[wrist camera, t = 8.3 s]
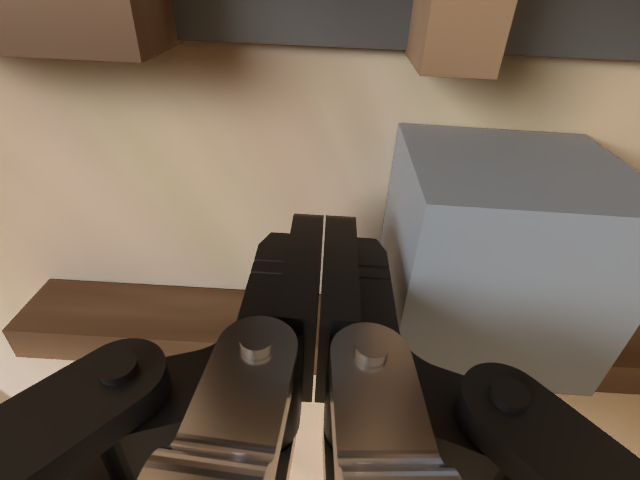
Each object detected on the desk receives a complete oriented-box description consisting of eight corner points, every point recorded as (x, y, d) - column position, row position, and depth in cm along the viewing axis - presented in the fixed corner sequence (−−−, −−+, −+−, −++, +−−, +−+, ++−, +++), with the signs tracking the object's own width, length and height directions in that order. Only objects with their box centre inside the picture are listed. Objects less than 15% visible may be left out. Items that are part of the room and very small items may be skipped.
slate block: (398, 123, 11) (426, 204, 7) (585, 134, 11) (707, 222, 7) (376, 269, 14) (388, 382, 10) (525, 279, 14) (592, 395, 10)
